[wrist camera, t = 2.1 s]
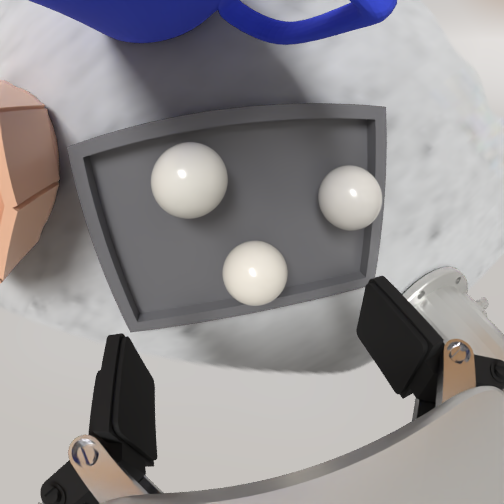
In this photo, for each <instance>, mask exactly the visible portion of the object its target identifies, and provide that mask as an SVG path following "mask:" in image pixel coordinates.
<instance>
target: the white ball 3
mask: <svg viewBox="0 0 504 504" xmlns="http://www.w3.org/2000/svg"><path fill="white" fill-rule="evenodd" d="M318 202H319V206H320V209H321V211H322V213H323V215H324V217H325V218H326V219H327V220H328V221H329V222H330V223H331V224H332V225H334V226H335V227H337V228H340V229H342V230H348V231H355V230H360V229H363V228H365V227H367V226H369V225H370V224H371V223H372V222H373V221H374V220H375V219H376V218H377V216H378V214H379V212H380V210H381V206H382V192H381V189H380V186H379V184H378V182H377V180H376V179H375V178H374V176H373V175H372V174H371V173H369V172H368V171H367V170H365V169H363V168H361V167H358V166H353V165H345V166H340V167H337V168H335V169H333V170H332V171H330V172H329V173H328V174H327V175H326V176H325V177H324V179H323V181H322V182H321V185H320V188H319V192H318Z"/></svg>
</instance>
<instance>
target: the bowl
mask: <svg viewBox="0 0 504 504" xmlns="http://www.w3.org/2000/svg"><path fill="white" fill-rule="evenodd" d="M44 107H45V105H44V104H43V103H41V102H40V101H39V100H38V99H37V98H36V97H35V96H34V95H32V94H31V93H30V92H28V91H26V90H24V89H22V88H17V87H15V86H14V85H12V84H10V83H9V82H7V81H5V80H0V283H2V282H3V280H4V279H5V278H6V277H7V276H8V274H9V273H10V272H11V271H12V270H13V269H14V267H15V266H16V265H17V264H18V263H19V262H20V261H21V260H22V258H23V257H24V256H25V255H26V254H27V253H28V252H29V251H30V250H31V249H32V248H33V247H34V246H35V245H36V243H37V242H38V241H39V238H40V235H41V232H42V229H43V227H44V225H45V224H46V222H47V220H48V218H49V216H50V214H51V212H52V209H53V206H54V203H55V199H56V194H57V190H58V187H59V183H58V182H59V179H60V177H59V152H58V144H57V139H56V135H55V131H54V128H53V125H52V122H51V119H50V117H49V115H48V112H47V109H45V108H44Z"/></svg>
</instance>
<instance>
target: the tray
mask: <svg viewBox="0 0 504 504" xmlns="http://www.w3.org/2000/svg"><path fill="white" fill-rule="evenodd" d="M185 142H196V143H201V144H204V145H206V146H208V147H210V148H212V149H213V150H214V151H215V152H217V153H218V155H219V156H220V157H221V158H222V160H223V162H224V164H225V166H226V169H227V174H228V185H227V190H226V193H225V195H224V197H223V199H222V201H221V202H220V204H219V205H218V206H217V207H216V208H215V209H214V210H213V211H211V212H210V213H208V214H206V215H204V216H201V217H198V218H193V219H183V218H178V217H175V216H172V215H171V214H169V213H167V212H166V211H164V210H163V209H162V208H161V207H160V206H159V204H158V203H157V202H156V200H155V198H154V196H153V193H152V189H151V174H152V170H153V168H154V165H155V163H156V161H157V160H158V158H159V157H160V156H161V155H162V154H163V153H164V152H165V151H166V150H168V149H169V148H171V147H172V146H175V145H177V144H180V143H185ZM386 149H387V132H386V107H382V106H370V105H355V104H328V103H304V104H276V105H261V106H249V107H238V108H230V109H221V110H214V111H207V112H201V113H194V114H188V115H183V116H178V117H172V118H167V119H163V120H158V121H154V122H149V123H145V124H141V125H137V126H133V127H129V128H125V129H122V130H118V131H115V132H111V133H108V134H104V135H101V136H98V137H95V138H92V139H89V140H86V141H83V142H80V143H77V144H74V145H71V146H69V147H67V150H68V155H69V160H70V164H71V169H72V173H73V177H74V182H75V186H76V189H77V193H78V197H79V201H80V204H81V208H82V211H83V214H84V218H85V221H86V224H87V227H88V230H89V233H90V236H91V239H92V242H93V245H94V248H95V251H96V253H97V256H98V259H99V262H100V264H101V267H102V269H103V272H104V274H105V277H106V279H107V282H108V284H109V287H110V289H111V291H112V294H113V296H114V298H115V301H116V303H117V305H118V307H119V309H120V312H121V314H122V316H123V318H124V320H125V322H126V324H127V326H128V328H129V330H130V332H137V331H145V330H153V329H160V328H167V327H174V326H181V325H187V324H193V323H200V322H206V321H211V320H217V319H223V318H228V317H234V316H239V315H244V314H250V313H255V312H260V311H265V310H270V309H274V308H279V307H284V306H288V305H293V304H297V303H302V302H306V301H311V300H315V299H319V298H323V297H327V296H331V295H335V294H339V293H343V292H347V291H351V290H355V289H359V288H363V287H366V284H368V282H369V280H370V279H373V278H375V274H376V267H377V261H378V254H379V246H380V239H381V230H382V221H383V210H384V197H385V181H386ZM345 165H353V166H358V167H361V168H363V169H365V170H367V171H368V172H369V173H371V174H372V175H373V176H374V178H375V179H376V180H377V182H378V184H379V186H380V189H381V192H382V206H381V210H380V212H379V214H378V216H377V218H376V219H375V220H374V221H373V222H372V223H371V224H370V225H369V226H367V227H365V228H363V229H360V230H355V231H348V230H342V229H340V228H337V227H335V226H334V225H332V224H331V223H330V222H329V221H328V220H327V219H326V218H325V217H324V215H323V213H322V211H321V209H320V206H319V202H318V192H319V188H320V185H321V182H322V181H323V179H324V177H325V176H326V175H327V174H328V173H329V172H330V171H332V170H333V169H335V168H337V167H340V166H345ZM248 241H263V242H266V243H269V244H271V245H272V246H274V247H275V248H276V249H278V250H279V252H280V253H281V254H282V255H283V257H284V259H285V261H286V264H287V269H288V278H287V282H286V285H285V287H284V289H283V291H282V292H281V294H280V295H279V296H278V297H277V298H276V299H274V300H273V301H271V302H269V303H267V304H264V305H260V306H250V305H246V304H243V303H241V302H239V301H237V300H236V299H234V298H233V297H232V296H231V295H230V294H229V292H228V291H227V289H226V287H225V285H224V281H223V275H222V271H223V265H224V262H225V259H226V258H227V256H228V254H229V253H230V252H231V251H232V250H233V249H234V248H235V247H236V246H238V245H240V244H242V243H244V242H248Z"/></svg>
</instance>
